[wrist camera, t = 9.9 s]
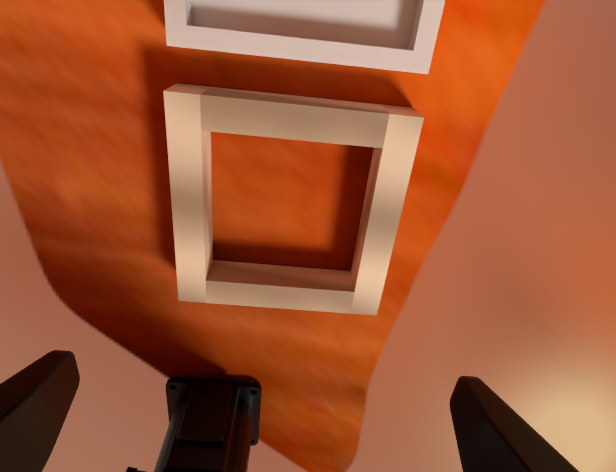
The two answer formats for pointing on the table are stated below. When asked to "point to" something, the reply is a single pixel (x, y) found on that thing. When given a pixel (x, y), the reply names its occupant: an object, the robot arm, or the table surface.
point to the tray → (312, 30)
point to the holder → (298, 126)
